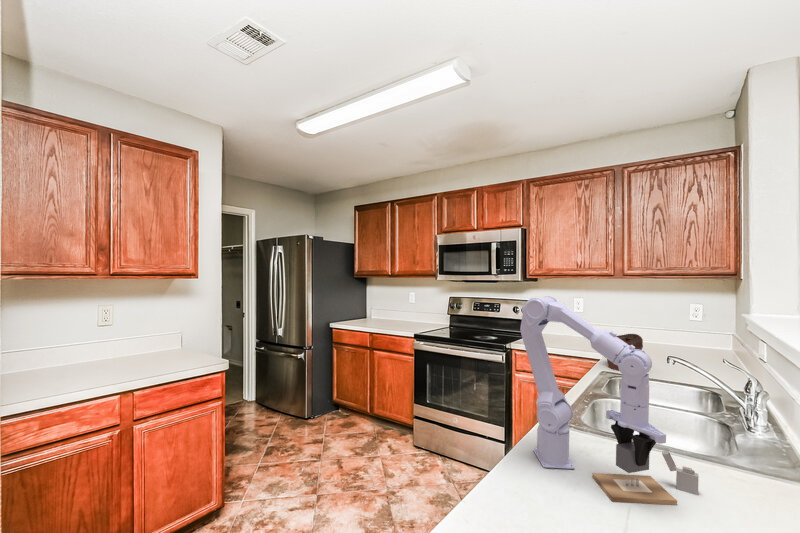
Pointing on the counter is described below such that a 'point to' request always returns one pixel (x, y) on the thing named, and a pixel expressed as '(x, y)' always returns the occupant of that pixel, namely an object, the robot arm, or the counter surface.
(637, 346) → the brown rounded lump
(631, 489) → the board
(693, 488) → the lighter
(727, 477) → the counter surface
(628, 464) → the block
